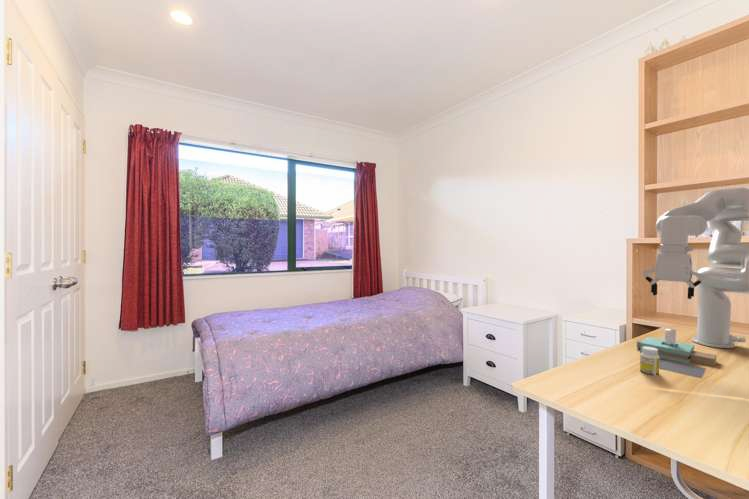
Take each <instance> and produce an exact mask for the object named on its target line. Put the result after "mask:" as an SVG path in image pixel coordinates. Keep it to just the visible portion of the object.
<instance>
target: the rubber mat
mask: <svg viewBox="0 0 749 499" xmlns="http://www.w3.org/2000/svg"><path fill="white" fill-rule="evenodd" d="M659 370H663V371H668V372H672V373H676V374H679V375H685V376H690V377H694V378H698V379H702V378H703V376H704V374H705V371H706V370H707V368H705V367H702V366H696V365H692V364H689V363H684V362H679V361H675V360H670V359H665V358H660V357H659Z"/></svg>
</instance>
